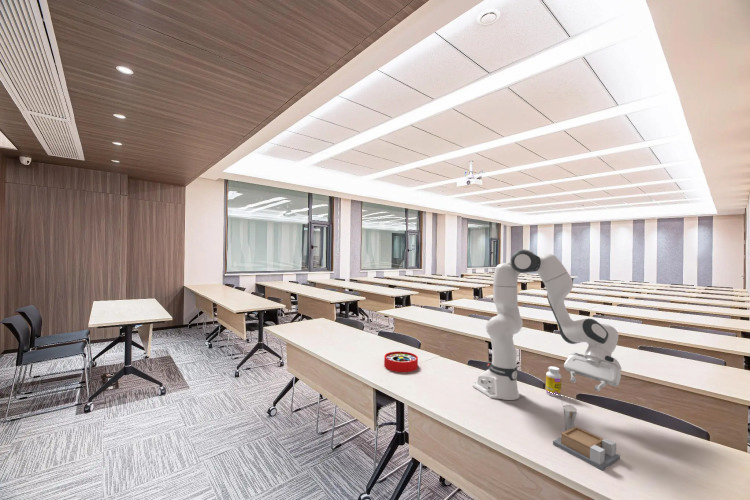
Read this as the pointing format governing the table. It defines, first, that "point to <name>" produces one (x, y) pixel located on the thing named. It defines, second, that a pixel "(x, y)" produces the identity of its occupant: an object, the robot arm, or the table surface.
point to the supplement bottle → (553, 381)
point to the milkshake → (569, 416)
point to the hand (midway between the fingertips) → (584, 385)
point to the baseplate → (588, 447)
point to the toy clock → (400, 361)
